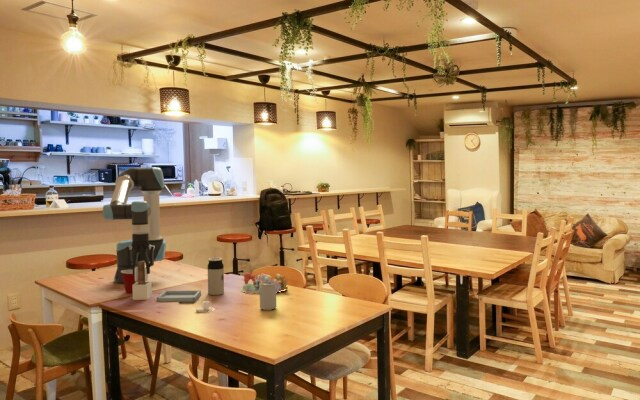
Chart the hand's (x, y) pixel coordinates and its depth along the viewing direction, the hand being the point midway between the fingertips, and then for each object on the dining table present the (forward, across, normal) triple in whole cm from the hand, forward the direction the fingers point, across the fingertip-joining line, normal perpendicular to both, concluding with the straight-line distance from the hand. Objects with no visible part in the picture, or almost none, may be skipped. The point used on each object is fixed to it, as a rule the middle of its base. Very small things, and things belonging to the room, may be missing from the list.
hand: (141, 280), depth 242 cm
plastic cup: (+10, -9, +13) cm, 18 cm away
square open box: (+9, 0, +1) cm, 9 cm away
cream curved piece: (+10, +32, -18) cm, 38 cm away
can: (+10, +63, -18) cm, 66 cm away
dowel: (+9, 0, 0) cm, 9 cm away
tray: (+9, +18, +1) cm, 20 cm away
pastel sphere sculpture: (+10, +58, +18) cm, 62 cm away
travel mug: (+10, +34, +11) cm, 37 cm away
